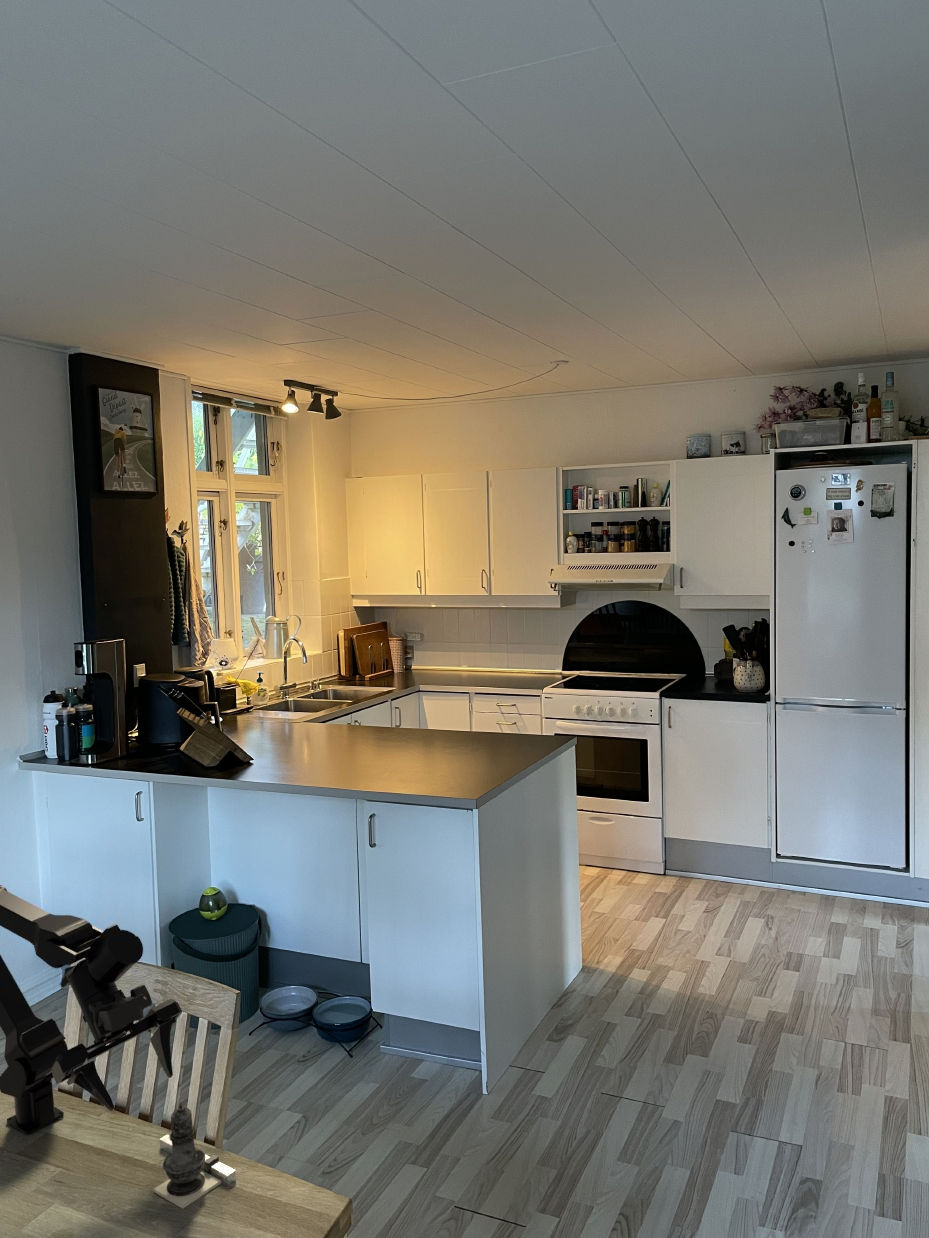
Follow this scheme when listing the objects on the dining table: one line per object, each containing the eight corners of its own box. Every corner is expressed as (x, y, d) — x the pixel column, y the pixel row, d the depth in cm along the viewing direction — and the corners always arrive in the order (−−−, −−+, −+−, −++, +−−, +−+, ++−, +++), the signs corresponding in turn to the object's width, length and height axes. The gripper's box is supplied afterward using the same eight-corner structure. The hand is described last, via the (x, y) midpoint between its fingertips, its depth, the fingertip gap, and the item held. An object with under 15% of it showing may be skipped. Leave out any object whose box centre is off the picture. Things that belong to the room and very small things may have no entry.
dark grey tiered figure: (155, 1190, 138) (149, 1108, 138) (185, 1166, 143) (180, 1088, 143) (186, 1202, 136) (180, 1118, 135) (215, 1177, 141) (210, 1096, 140)
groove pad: (153, 1191, 139) (153, 1188, 139) (192, 1167, 144) (192, 1164, 144) (182, 1208, 135) (182, 1205, 135) (221, 1182, 140) (220, 1180, 140)
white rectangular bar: (158, 1148, 149) (157, 1136, 149) (169, 1142, 151) (168, 1130, 150) (226, 1185, 139) (226, 1172, 139) (237, 1178, 141) (236, 1165, 141)
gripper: (47, 1006, 138) (92, 1111, 132) (168, 950, 150) (214, 1043, 145) (33, 1033, 145) (76, 1133, 139) (150, 977, 157) (193, 1067, 152)
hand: (142, 1092), depth 144 cm, fingers open, 9 cm apart
